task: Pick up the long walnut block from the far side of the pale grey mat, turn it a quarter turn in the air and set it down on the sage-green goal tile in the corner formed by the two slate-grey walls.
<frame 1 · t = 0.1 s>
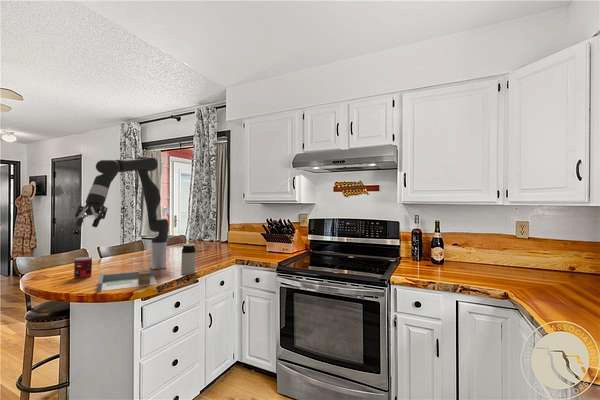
hand: (86, 226, 136), 31 cm above the worktop, tool tilted 20°, fingers open, 8 cm apart
walnut block: (143, 282, 152), resting on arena
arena: (128, 283, 152), on the worktop
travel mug: (188, 273, 177), on the worktop
canned food: (82, 277, 163), on the worktop
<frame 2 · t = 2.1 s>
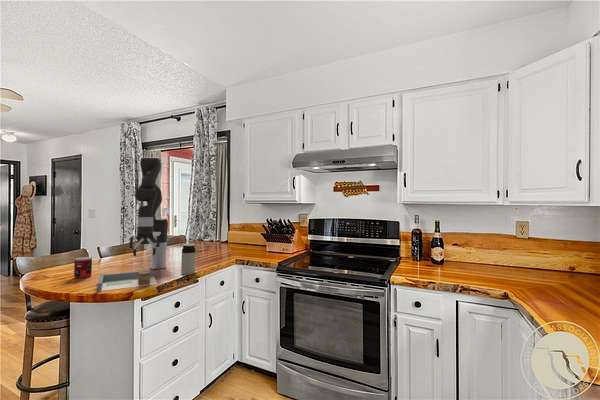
hand: (144, 255, 152), 15 cm above the worktop, tool pointing down, fingers open, 8 cm apart
nothing on the worktop moved.
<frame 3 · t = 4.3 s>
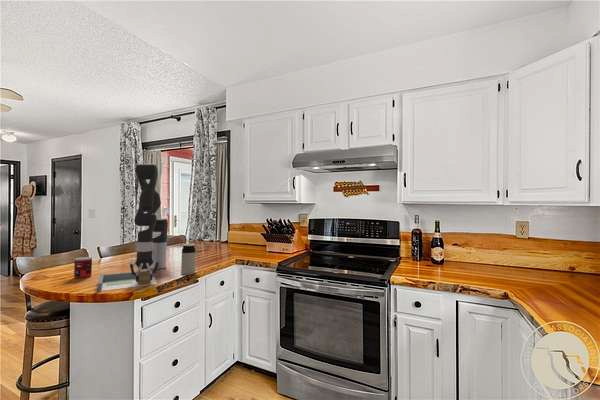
hand: (143, 281, 152), 1 cm above the worktop, tool pointing down, fingers closed on walnut block, 5 cm apart
walnut block: (143, 282, 152), resting on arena, touching gripper
everything else where it was.
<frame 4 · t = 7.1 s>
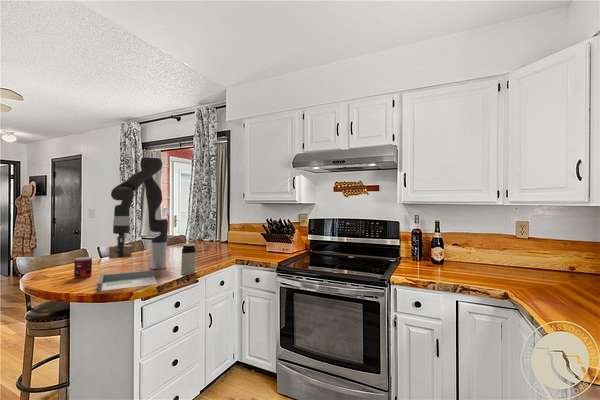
hand: (120, 256, 152), 15 cm above the worktop, tool pointing down, fingers closed on walnut block, 5 cm apart
walnut block: (120, 257, 152), point 14 cm above the worktop, touching gripper
everything else where it was.
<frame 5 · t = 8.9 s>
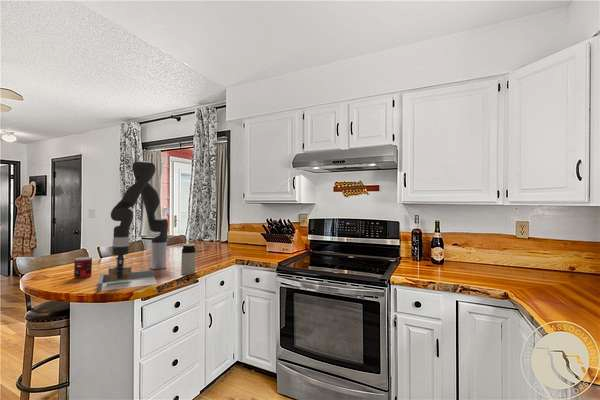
hand: (119, 277, 151), 3 cm above the worktop, tool pointing down, fingers closed on walnut block, 5 cm apart
walnut block: (119, 278, 151), point 3 cm above the worktop, touching gripper
everything else where it was.
when the fingers open (2 cm above the worktop, at t = 10.1 s): walnut block drops 1 cm, resting on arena.
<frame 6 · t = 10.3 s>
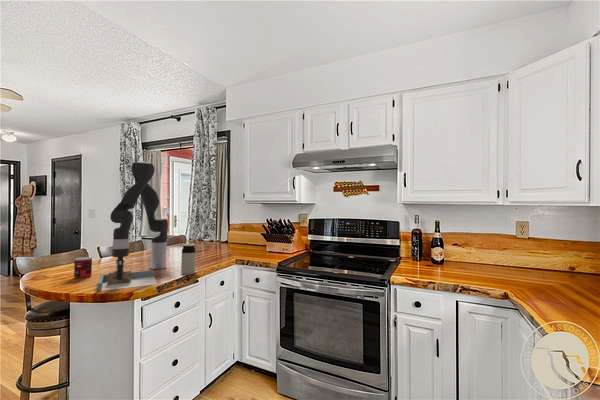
hand: (119, 278, 151), 3 cm above the worktop, tool pointing down, fingers open, 7 cm apart
walnut block: (119, 282, 151), point 1 cm above the worktop, touching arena
everything else where it was.
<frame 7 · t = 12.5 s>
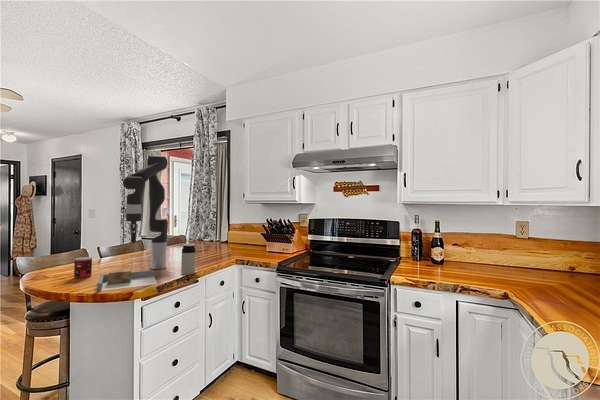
hand: (133, 241, 158), 22 cm above the worktop, tool pointing down, fingers open, 8 cm apart
nothing on the worktop moved.
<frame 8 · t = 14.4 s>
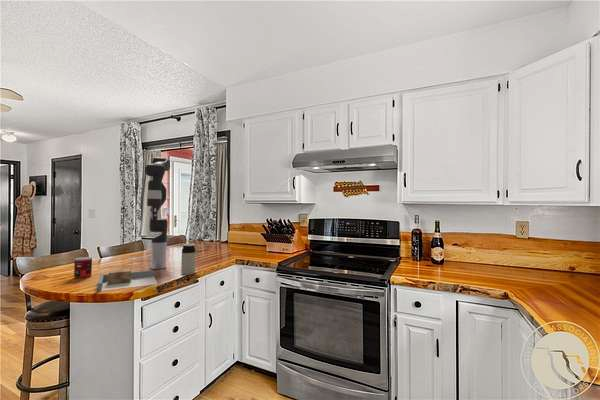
hand: (153, 225, 167), 30 cm above the worktop, tool pointing down, fingers open, 8 cm apart
nothing on the worktop moved.
at the end: walnut block 0.0 cm from the target spot on the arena, point 0.6 cm above the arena's base; walnut block tilted 0°; the gripper is holding nothing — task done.
